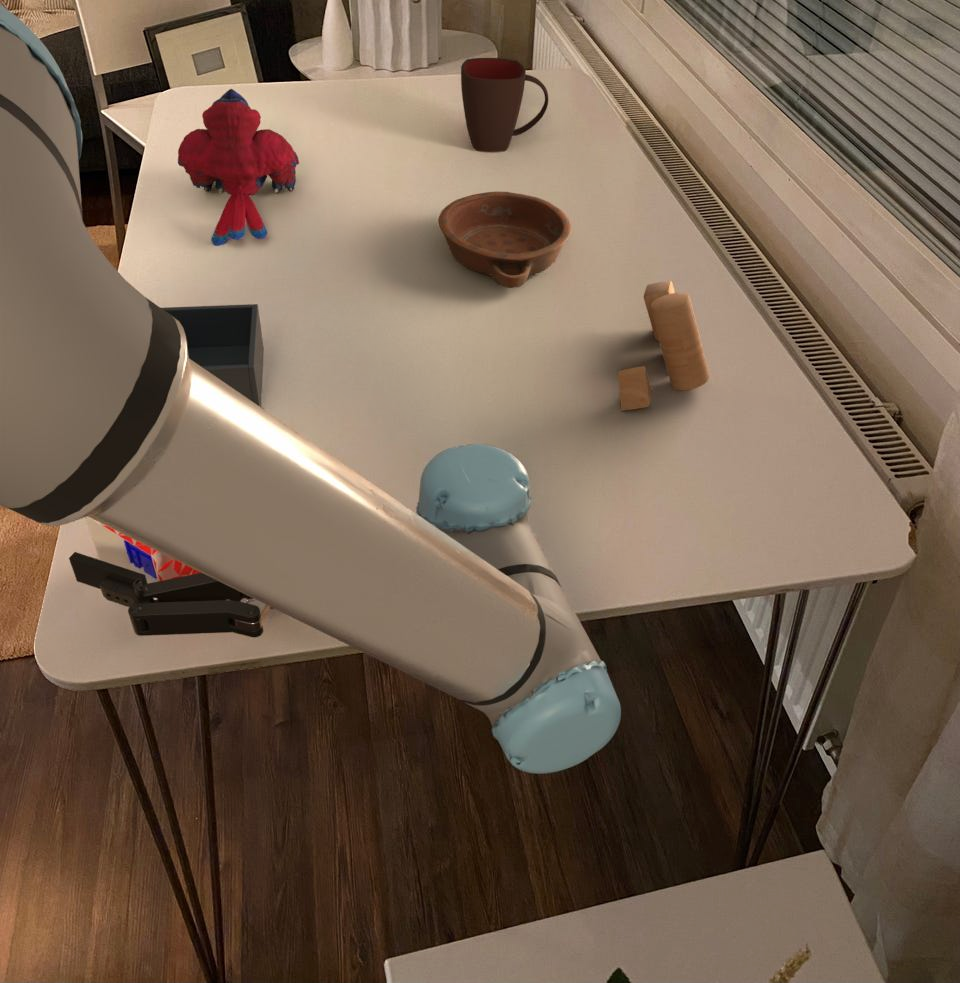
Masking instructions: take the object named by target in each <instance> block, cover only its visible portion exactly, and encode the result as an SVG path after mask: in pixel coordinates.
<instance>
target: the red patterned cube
mask: <svg viewBox="0 0 960 983" xmlns="http://www.w3.org/2000/svg"><path fill="white" fill-rule="evenodd" d="M85 520H86V523H87V526H88V529H89V532H90V535H91V539H92V541H93V544H94V547H95V548H94V549H95V551H96V554H97V557H98V560H101V561H104V562H107V563H111V564H114V565H117V566H120V567H123V568H126V569H129V570H132V571H135V572H138V573H141V574H144V575H145V576H146V580H147V583H153V582H158V581H163V580H168V579H173V578H178V577H183V576H187V575H192V574H197V573H201V572H199V571H197V570H195V569H193V568H191V567H189V566H187V565H185V564H183V563H181V562H179V561H177V560H175V559H173V558H171V557H169V556H167V555H165V554H163V553H161V552H159V551H156V550H154V549H152V548H150V547H148V546H146V545H144V544H142V543H140V542H138V541H136V540H134V539H132V538H130V537H128V536H126V535H124V534H122V533H120V532H118V531H116V530H114V529H112V528H110V527H108V526H106V525H104V524H102V523H100V522H98V521H96V520H94V519H92V518H89V517H85ZM156 599H157V598H154V600H156Z"/></svg>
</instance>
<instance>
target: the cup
mask: <svg viewBox="0 0 960 983" xmlns="http://www.w3.org/2000/svg"><path fill="white" fill-rule="evenodd" d="M526 73H527V72H526V68H525V67H524V65H523V64H522V63H521V62H520V61H518V60H516V59H509V58H501V57H475V58H474V57H473V58H468V59H466V60H464V62H462V64H461V66H460V83H461V84H460V86H461V87H460V88H461V97H462V98H461V99H462V104H463V113H464V118H465V125H466V129H467V133H468V138H469V142H470V145H471V146H472V148H473V149H474V150H475V152H476V151H477V152H481V153H482V152H483V153H503V152H506V151H507V150H508V148H509V146H510V143H511V140H512V138H513V137H517V136H520V135H522V134H524V133H526V132H528V131H529V130H531V129H532V128H533V127H535V125H537V124H538V123H539V122H540V120H542V118H543V116H544V115H545V113H546V111H547V109H548V106H549V93H548V89H547V88H546V86H545V84H544V83H543V82H542V81H541V80H540V79H538V78H537V77H535V76H533V75H530V74H526ZM526 82H530V83H533V84H535V85H537V86H538V87H539V88H540V89H541V90H542V92H543V95H544V102H543V105H542V107H541V109H540V111H539V112H538V113H537V114H536V115H535V116H534V117H533V118H532V119H530V121H528V122H527V123H525V124H524V125H522V126H521V127H518V128H516V126H517V122H518V118H519V114H520V110H521V106H522V102H523V97H524V91H525V83H526Z"/></svg>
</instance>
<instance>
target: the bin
mask: <svg viewBox="0 0 960 983" xmlns="http://www.w3.org/2000/svg"><path fill="white" fill-rule="evenodd" d="M160 308H161V309H163V310H164V311H166V312H167V313H169V314H170V315H171V316H173V317H174V318H175V319H177V320H178V321H179V322H180V324H181V325H182V327H183V329H184V332H185V335H186V341H187V349H188V356H189V359H191V360H192V361H194V362H195V363H197V364H198V365H199V366H201V367H202V368H204V369H205V370H207V371H208V372H210V373H211V374H213V375H214V376H216V377H217V378H218V379H220V380H221V381H223V382H224V383H226V384H227V385H229V386H230V387H232V388H233V389H235V390H236V391H237V392H239V393H240V394H242V395H243V396H245V397H246V398H248V399H249V400H251V401H252V402H254V403H255V404H256V405H258V406H259V407H261V408H262V391H263V390H262V388H263V374H264V373H263V369H264V352H265V351H264V342H263V334H262V325H261V318H260V310H259V304H258V303H251V304H250V303H249V304H224V305H222V304H221V305H196V306H172V307H171V306H170V307H160Z"/></svg>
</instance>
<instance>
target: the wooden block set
mask: <svg viewBox="0 0 960 983" xmlns="http://www.w3.org/2000/svg"><path fill="white" fill-rule="evenodd" d="M643 300H644V304H645V308H646V310H647V314H648V319H649V321H650V325H651V328H652V333H653V336H654V340H656V341H658V342H659V346H660V349H661V353H662V357H663V360H664V364H665V368H666V371H667V376H668V378H669V381H670V382H669V383H670V386H671V387H672V388H673V389H674V390H677V391H691V390H695V389H697V388H700V387H702V386H703V385H705V384H706V383H708V381H709V379H710V373H709V368H708V365H707V361H706V356H705V352H704V349H703V344H702V340H701V336H700V333H699V329H698V325H697V321H696V317H695V313H694V308H693V305H692V300H691V297H690V295H689V294H687V293H685V292H675V288H674V285H673V282H672V279H671V280H664V281H658V282H655V283H649V284H646V286H645V290H644V294H643ZM617 378H618V388H619V398H620V399H619V400H620V410H621V412H623V411H630V410H635V409H642V408H649V407H650V405H651V404H650V403H651V400H652V395H653V390H652V385H651V383H650V378H649V375H648V373H647V368H646V366H645V365H643V366H637V367H631V368H626V369H620V370H617Z"/></svg>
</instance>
